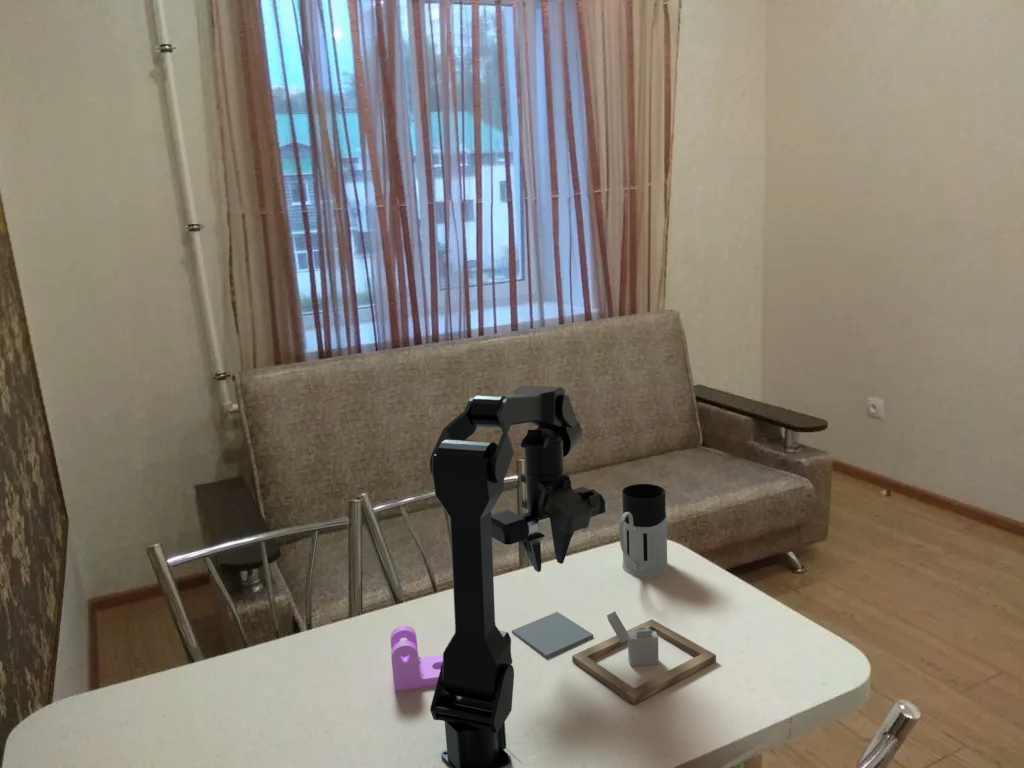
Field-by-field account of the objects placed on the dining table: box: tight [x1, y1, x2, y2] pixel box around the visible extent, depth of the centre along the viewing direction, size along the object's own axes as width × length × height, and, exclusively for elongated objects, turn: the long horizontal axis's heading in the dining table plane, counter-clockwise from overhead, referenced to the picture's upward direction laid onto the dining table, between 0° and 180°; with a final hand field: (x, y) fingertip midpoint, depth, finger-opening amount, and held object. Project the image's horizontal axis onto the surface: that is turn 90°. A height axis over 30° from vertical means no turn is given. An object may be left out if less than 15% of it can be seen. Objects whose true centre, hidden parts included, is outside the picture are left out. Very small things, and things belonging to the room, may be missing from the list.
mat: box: [511, 611, 594, 659], centre depth 124 cm, size 9×9×1 cm
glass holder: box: [618, 483, 669, 579], centre depth 140 cm, size 9×14×15 cm, turn 148°
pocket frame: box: [571, 618, 717, 705], centre depth 116 cm, size 16×13×1 cm
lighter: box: [606, 610, 660, 667], centre depth 115 cm, size 7×2×8 cm, turn 92°
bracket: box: [390, 624, 443, 692], centre depth 115 cm, size 13×6×7 cm, turn 100°
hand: (549, 566), depth 121 cm, fingers open, 4 cm apart
